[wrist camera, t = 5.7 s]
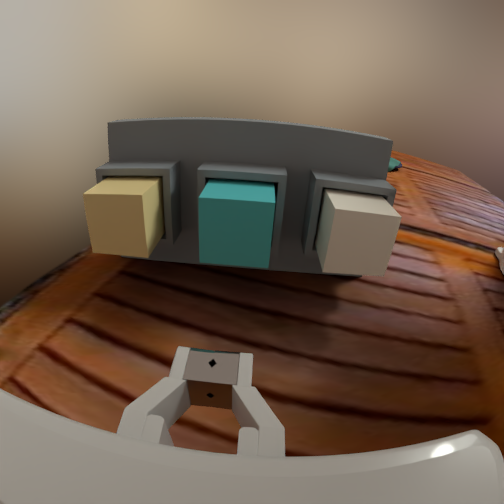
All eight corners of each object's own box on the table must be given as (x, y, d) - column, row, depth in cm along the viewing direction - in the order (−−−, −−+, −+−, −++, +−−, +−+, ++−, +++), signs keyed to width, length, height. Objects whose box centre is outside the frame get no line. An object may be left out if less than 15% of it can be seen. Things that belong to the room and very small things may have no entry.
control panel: (357, 266, 32) (385, 137, 25) (369, 294, 27) (407, 147, 20) (128, 247, 32) (117, 120, 25) (109, 272, 28) (90, 127, 21)
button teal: (268, 239, 26) (273, 182, 23) (268, 268, 22) (275, 202, 19) (209, 234, 26) (210, 178, 23) (199, 262, 22) (198, 197, 20)
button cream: (368, 248, 26) (381, 195, 23) (383, 276, 22) (401, 217, 19) (314, 243, 26) (324, 187, 23) (322, 272, 22) (335, 208, 19)
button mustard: (165, 231, 26) (162, 176, 23) (148, 257, 22) (142, 194, 20) (115, 228, 26) (109, 176, 24) (93, 252, 22) (83, 193, 20)
